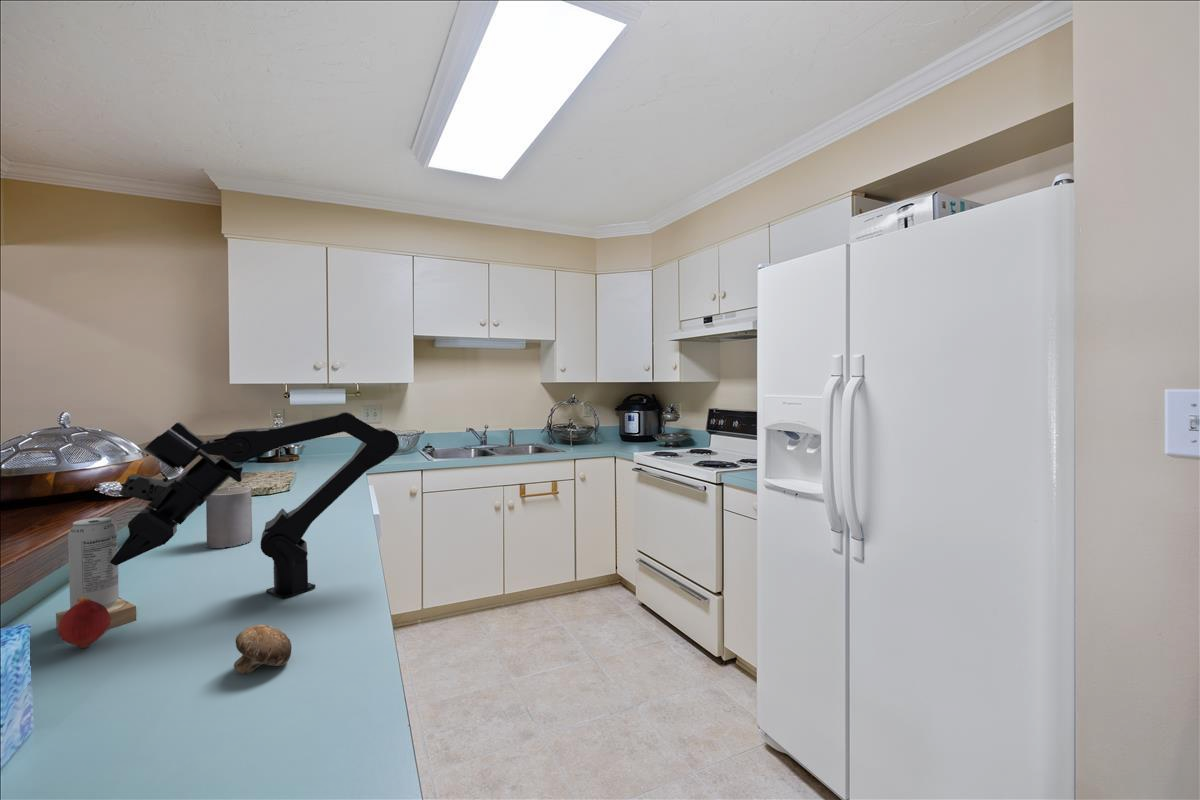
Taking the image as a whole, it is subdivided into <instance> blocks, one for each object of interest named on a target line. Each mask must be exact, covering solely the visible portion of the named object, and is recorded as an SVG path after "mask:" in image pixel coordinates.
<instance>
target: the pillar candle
mask: <svg viewBox="0 0 1200 800" xmlns="http://www.w3.org/2000/svg"><path fill="white" fill-rule="evenodd" d="M252 499H253V498H252V488H250V487H243V486H238V487H237V486H236V487H231V485H228V487H224V488H218V489H217V490H216V491H215V492H214V493H212V494H211V495H210V496H209V497H208V498H207V499H206V500H205V504H206V505H205V508H206V512H205V513H206V516H205V517H206V547H207V548H208V547H210V548H209V549H212V548H222V549H226V548H225V547H231V548H233V547H232V546H236V547H238V546H237V545H240V546H242V545H241V544H243V545H245V544H244V543H247V544H249V543H248V542H250V541H251V540H252V541H253V515H252V514H253V513H252V512H253V511H252V510H253V509H252V507H253V505H252V504H253V503H252V502H253V500H252ZM252 541H251V542H252ZM251 542H250V543H251Z"/></svg>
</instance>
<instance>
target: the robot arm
mask: <svg viewBox="0 0 1200 800" xmlns="http://www.w3.org/2000/svg"><path fill="white" fill-rule="evenodd" d="M340 433H346V434H348V435H350V436H351V437H354V438H356V439H357V440H359V441H361V443H360V445H359V446H358V447H357V449H356V451H355V452H354V454H353V455H352V457H351V458H349V459H348V461H346V462H345V463H344V464H343V465H342V466H341V467H339V469H337V471H335V472H334V473H333V474H332V475H331V476H330V477H329V478H328V479H327V480H326V481H325V482H323V483H322V484H321V486H319V487H317V489H316V490H315V491H314V492H313V493H311V495H310V496H308V497H307V498H306V499H305V500H304V501H303V502H302V503H301V504H300V505H298V506H297V507H296V508H294V509H292V510H290V511H289V512H287V511H286V510H285V509H284V508H281V509H280V511H278V513H277V514H276V515H275V516H274V518H272V519H270V520H268V521H266V522H265V525H264V529H263V531H262V534H261V539H260V550H261V551H262V553H263V554H264V555H265V556H266V557H268V558H271V559H272V561H273V586H272V587H270V588H267V589H266V590H265V592H266V593H267V594H269V595H273V596H275V597H278V598H281V599H286V598H289V597H292V596H295V595H299V594H301V593H304V592H307V591H310V590H312V589H315V588H316V584H314V583H311V582H309V573H308V571H309V569H308V567H309V563H308V555H309V553H308V545H307V544H308V543H307V541H306V540H304V539H303V537H304V536H305V534H306V532H307V531H308V529H309V528H310V526H311V524H312V523H313V522H314V521H315V520H316V519H317V518H318V517H319V516H320V515H321V514H323V513H324V511H325V510H326V509H327V508H329V507H330V506H331V505H332V504H333V503H334V502H335V501H336V500H338V498H339V497H340V496H341V495H343V493H345V492H346V490H348V489H349V488H350V487H351V486H352V485H353V484H354V483H355V482H357V480H358V479H360V478H361V477H362V475H364V474H365V473H366V472H367V471H369V470H370V469H373V468H374V467H376V466H377V465H379V464H381V463H383V462H384V461H386V460H387V459H389V458H390V457H392V456H393V455H395V454H396V453H397V451H398V450H399V448H400V447H399V446H400V440H399V437H398V436H397V434H396V433H395V432H393V431H392V430H389V429H387V428H384V427H378V428H375V427H374V426H372V425H370V424H368V423H366V422H364V421H363V420H361V419H359V418H358V417H356V416H355V415H354V414H352V413H351V412H347V411H342V412H339V413H337V414H334V415H333V414H332V415H327V416H324V417H319V418H315V419H310V420H306V421H301V422H296V423H292V424H287V425H282V426H279V427H277V426H276V427H258V428H242V429H236V430H233V431H231V432H230V433H228V434H227V435H226V436H225V437H221V438H210V439H207V440H205V441H204V439H202V438H200V437H199V436H198V435H197V434H195V433H193V432H192V431H191V430H190V429H188V427H187V426H186V425H184V424H183V423H182V422H176V423H174V425H172V426H171V427H170V428H168V429H167V430H166V431H164V432H163V433H162V434H158V436H156V437H155V438H154V439H153V440H151V442H149V443H148V444H147V445H146V446H145V447H144V449H143V451H145V452H146V453H147V454H149V455H151V456H152V457H153V458H156V459H157V460H158V461H160V462H161V463H163V464H164V465H165V466H167V467H168V468H170V469H171V470H174V469H176V468H177V469H180V468H181V469H183V470H185V468H187V466H189V465H190V464H191V463H193V461H195V459H197V458H198V457H199V456H200V457H201V458H200V459H199V460H198V461H197V462H196V463H194V465H193V466H192V467H190V468H189V469H188V470H187V471H186V472H185V473H184V474H183V475H181V477H180V478H176V479H174V480H173V481H172V482H171V483H170V482H165V481H163V480H160V479H156V478H152V477H148V476H145V475H141V474H138V473H136V474H135V473H131V474H130V475H128V476H127V478H126V479H125V481H124V483H123V484H122V485H121V486H122V487H121V489H120V490H119V493H118V494H119V495H120V496H121V497H125V498H129V497H131V498H135V499H139V500H143V501H147V502H149V503H148V504H147V506H146V507H145V508H144V509H142V510H140V511H139V512H138V513H137V514H136V515H135V516H134V517H133V518H132V519H130V520H129V521H128V523H127V529H128V532H129V536H128V537H127V539H126V540H125V541H124V542H123V543H122V545H121V546H120V547H119V549H118V552H117V553H116V554H115V556H114V557H113V558H112V560H111V561H110V563H111V564H113V565H115V566H117V565H118V566H119V565H121V564H123V563H125V562H128V561H130V560H131V559H134V558H136V557H138V556H140V555H142V554H144V553H148V552H149V551H152V550H154V549H156V548H158V547H161V546H163V545H166V543H168V542H169V540H171V539H172V538H173V537H174V536H175V535H176V534H177V531H178V529H177V528H178V525H182V524H183V523H184V522H185V521H186V519H187V518H188V517H189V516H190V515H192V513H193V512H194V511H196V510H197V509H198V508H199V507H201V506H202V505H203V504H204V503H206V499H207V498H208V497H209V496H210V495H211V494H212V493H214V492H215V491H216V490H217V489H220V487H221V486H222V485H223V484H225V482H227V480H228V479H229V478H231V479H232V480H234V481H235V482H237V483H241V482H242V481H243V478H244V477H243V470H244V466H242V465H240V466H234V465H233V464H232V463H243V462H247V461H249V460H252V459H255V458H256V457H257V458H258V457H259V456H262V455H265V454H267V453H268V452H271V451H274V450H276V449H278V448H281V447H284V446H288V445H292V444H296V443H301V442H305V441H310V440H314V439H318V438H322V437H327V436H331V435H336V434H340ZM213 456H220V459H219V460H218V459H216V458H214V457H213ZM223 457H224V458H223ZM227 460H228V461H227ZM230 462H232V463H230Z"/></svg>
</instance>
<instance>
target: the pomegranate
mask: <svg viewBox="0 0 1200 800" xmlns="http://www.w3.org/2000/svg"><path fill="white" fill-rule="evenodd" d="M77 600H78V603H77V604H76V605H74V606H73V607H72V608H69V609H67V610H68V611H67V612H66V613H65V614H64V616H63V617H62V618H61V620H60V622H59V625H58V629H57V633H58V636H59V638H60V639H61V640H62V641H63V642H65V643H67V644H70V645H72V646H75V647H77V648H79V649H85V648H88V647H89V646H90V645H92V644H94V643H95V642H96V641H97V640H99V639H100V638H101V637H102V636H103V635H104V634H105V633H106V632H107V631H108V630H109V629H108V627H109V625H110V620H111V619H110V614H109V612H108V611H107V609H106V608H105V607H104V606H103V605H101V604H100V603H97V602H95V601H91V600H89V599H87V598H86V597H79V598H78V599H77Z"/></svg>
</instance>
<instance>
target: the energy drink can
mask: <svg viewBox="0 0 1200 800" xmlns="http://www.w3.org/2000/svg"><path fill="white" fill-rule="evenodd" d="M67 542H68V543H67V544H68V546H67V547H68V548H67V549H68V575H69V577H68V578H69V580H68V581H69V582H68V583H69V607H70V608H72V607H73V606H74V605H76V604H77V603H78V600H77V599H78V598H79V597H86V598H87V599H89V600H91V601H95V602H97V603H100V604H101V605H103V606H104V607H105V608H106V609H108V608H110V607H112V606H114V605H115V601H116V600H118V598H120V594H119V593H120V590H119V589H120V588H119V584H120V583H119V565H117V566H115V565H113V564H111V563H110V561H111V560H112V558H113V557H114V556H115V554H116V553H117V552H118V550H119V549H118V548H119V547H118V527H117V525H116V524H115V523H114V522H113V517H110V516H109V517H108V516H107V517H106V516H103V517H93V518H92V517H91V518H85V519H80V520H75V521H74V522H72V527H71V528H70V530H69V531H68V533H67ZM70 608H69V609H70Z"/></svg>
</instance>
